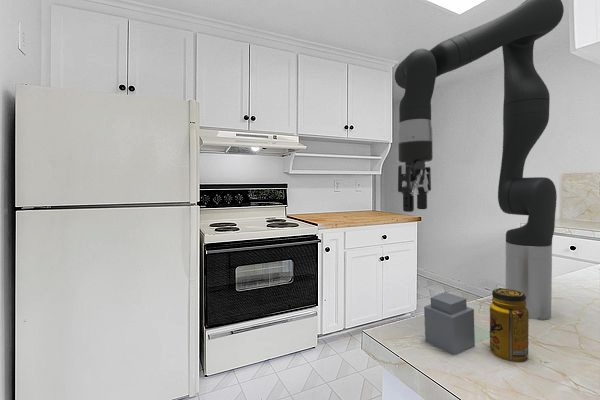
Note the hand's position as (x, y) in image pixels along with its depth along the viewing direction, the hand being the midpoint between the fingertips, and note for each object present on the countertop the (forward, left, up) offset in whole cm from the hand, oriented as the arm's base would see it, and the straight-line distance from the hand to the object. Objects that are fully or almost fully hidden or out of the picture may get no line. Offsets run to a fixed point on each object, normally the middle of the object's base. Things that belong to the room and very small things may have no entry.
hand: (415, 210), depth 75 cm
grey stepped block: (+9, +10, -26) cm, 29 cm away
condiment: (+5, +20, -26) cm, 34 cm away
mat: (+1, +10, -26) cm, 28 cm away
